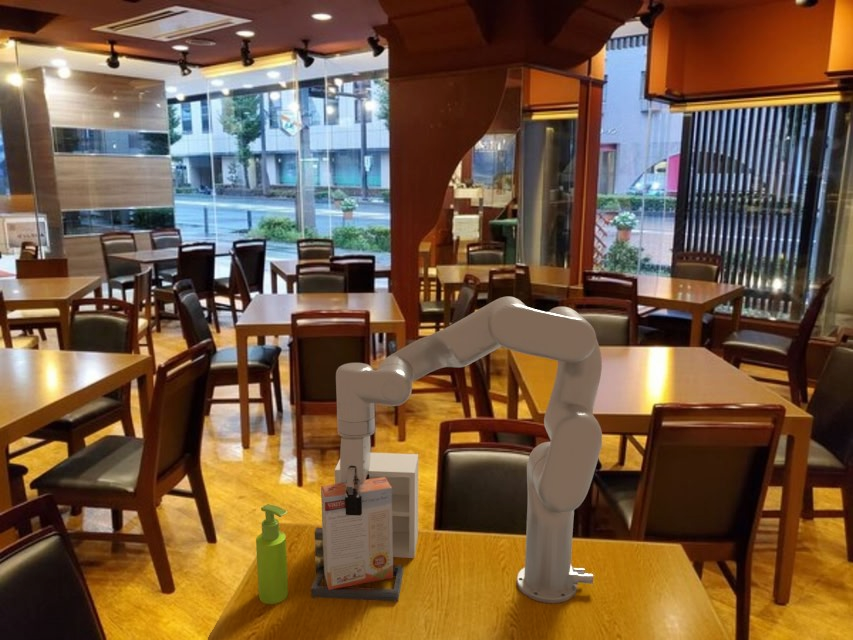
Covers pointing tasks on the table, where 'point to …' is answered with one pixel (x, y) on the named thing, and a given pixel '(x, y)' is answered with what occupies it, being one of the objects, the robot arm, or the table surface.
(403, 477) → the cabinet
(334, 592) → the dark gray rectangular frame
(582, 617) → the table surface
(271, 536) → the soap dispenser
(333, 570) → the cracker box
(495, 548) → the table surface
